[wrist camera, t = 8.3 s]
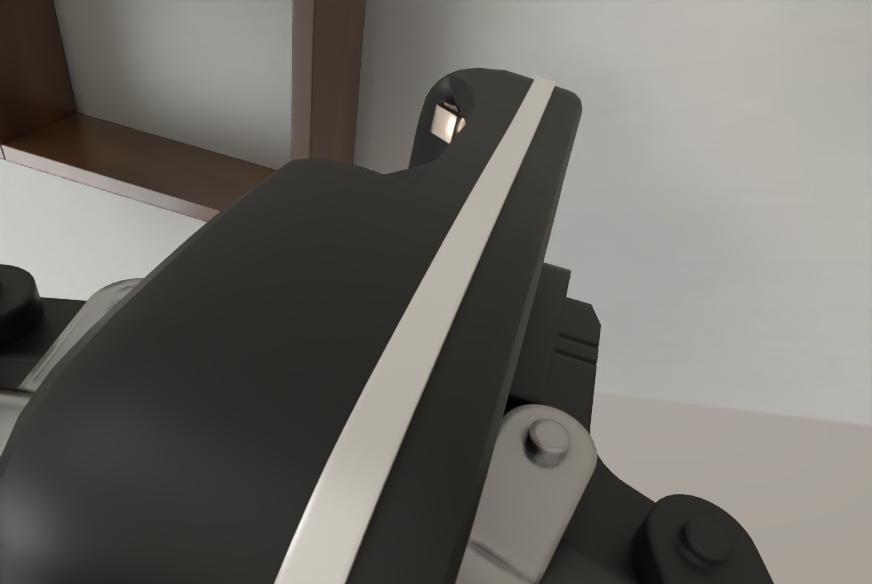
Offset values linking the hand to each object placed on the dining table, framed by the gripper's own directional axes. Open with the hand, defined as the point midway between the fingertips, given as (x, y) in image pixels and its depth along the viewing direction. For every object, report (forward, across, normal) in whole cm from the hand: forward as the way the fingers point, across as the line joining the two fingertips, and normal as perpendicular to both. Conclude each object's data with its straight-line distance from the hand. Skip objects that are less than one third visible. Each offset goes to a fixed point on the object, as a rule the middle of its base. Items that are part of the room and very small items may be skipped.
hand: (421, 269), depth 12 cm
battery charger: (+3, 0, 0) cm, 3 cm away
